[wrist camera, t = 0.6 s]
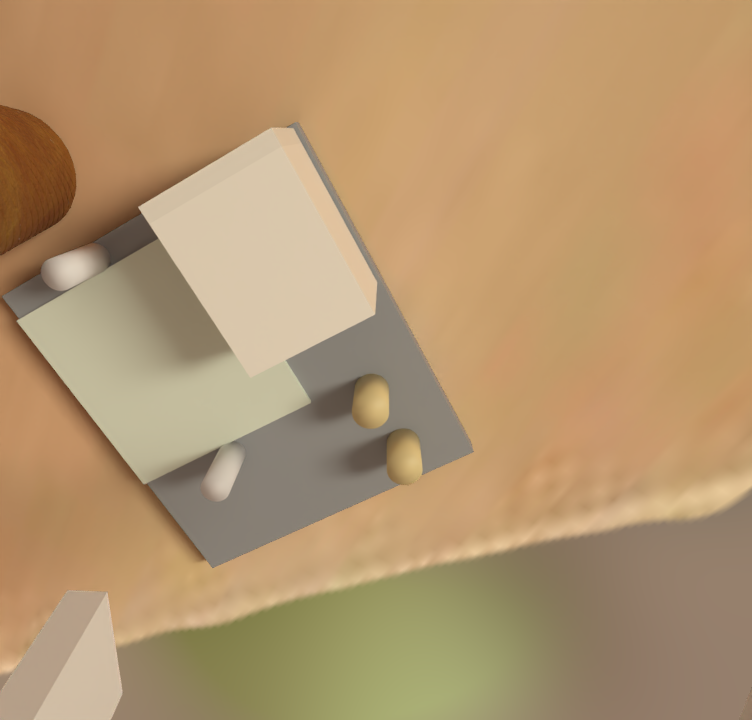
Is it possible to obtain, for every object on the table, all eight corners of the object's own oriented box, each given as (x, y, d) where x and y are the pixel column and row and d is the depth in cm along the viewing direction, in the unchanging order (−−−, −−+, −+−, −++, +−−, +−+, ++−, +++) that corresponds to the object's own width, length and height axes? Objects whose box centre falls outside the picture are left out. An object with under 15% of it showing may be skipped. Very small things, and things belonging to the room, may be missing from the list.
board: (13, 290, 34) (-49, 316, 29) (298, 121, 31) (281, 119, 26) (217, 555, 41) (194, 613, 36) (471, 442, 37) (483, 489, 32)
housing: (183, 192, 31) (137, 207, 25) (293, 128, 29) (271, 127, 24) (273, 336, 33) (250, 378, 28) (377, 282, 32) (375, 314, 26)
